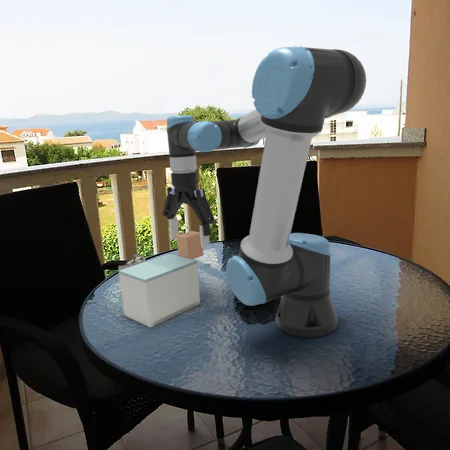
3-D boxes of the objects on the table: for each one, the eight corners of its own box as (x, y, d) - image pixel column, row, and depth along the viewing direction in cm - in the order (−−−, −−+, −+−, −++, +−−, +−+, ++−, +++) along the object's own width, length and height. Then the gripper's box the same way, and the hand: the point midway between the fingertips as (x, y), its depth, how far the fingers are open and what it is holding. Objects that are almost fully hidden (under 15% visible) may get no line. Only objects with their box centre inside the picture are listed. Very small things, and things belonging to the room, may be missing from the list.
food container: (139, 297, 128) (136, 266, 125) (121, 296, 129) (117, 266, 127) (154, 282, 139) (151, 254, 137) (137, 281, 141) (134, 254, 138)
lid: (212, 257, 121) (210, 234, 120) (145, 282, 105) (142, 256, 103) (185, 250, 130) (183, 229, 128) (119, 273, 113) (116, 249, 111)
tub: (200, 303, 120) (196, 263, 117) (150, 327, 108) (145, 282, 105) (173, 294, 128) (170, 256, 125) (124, 315, 116) (119, 273, 113)
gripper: (224, 171, 112) (228, 246, 117) (166, 168, 128) (172, 233, 134) (204, 175, 106) (210, 253, 112) (147, 171, 123) (153, 239, 128)
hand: (189, 242), depth 123 cm, fingers open, 13 cm apart
